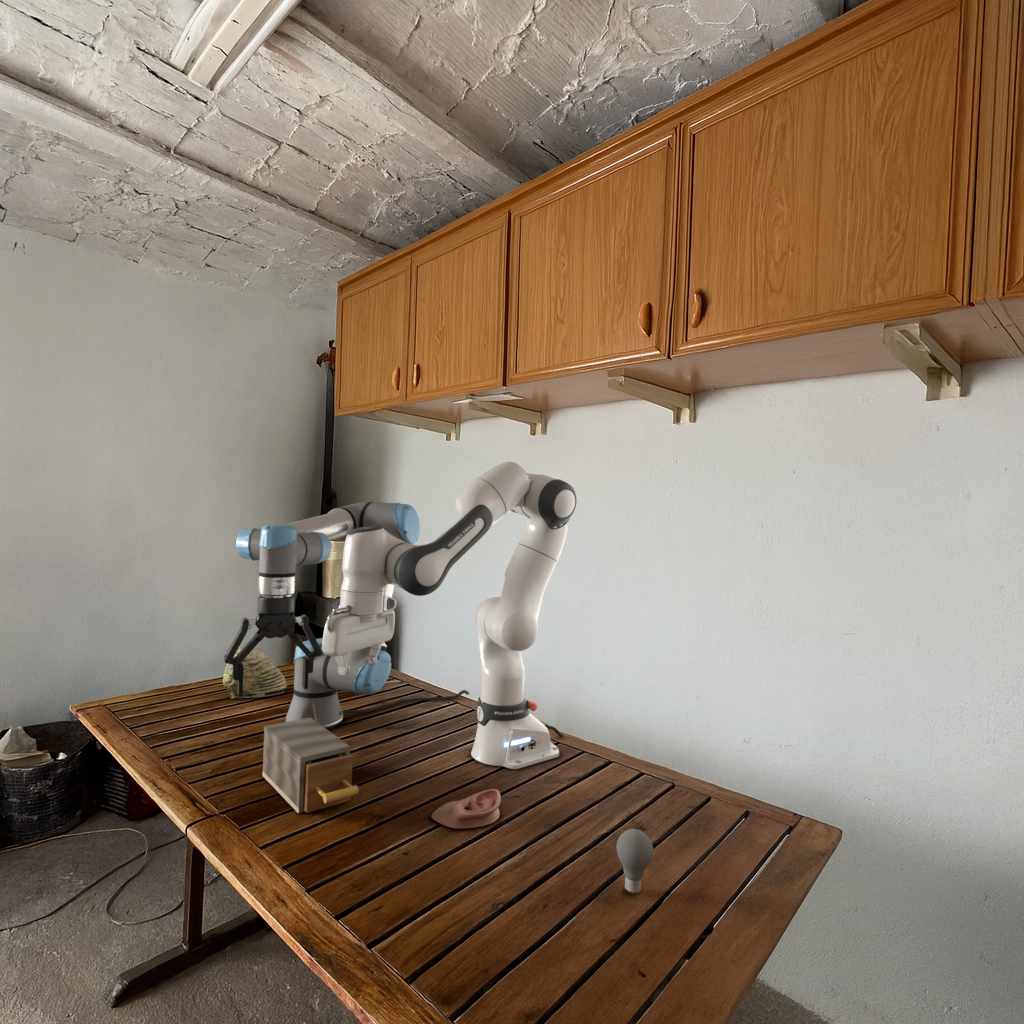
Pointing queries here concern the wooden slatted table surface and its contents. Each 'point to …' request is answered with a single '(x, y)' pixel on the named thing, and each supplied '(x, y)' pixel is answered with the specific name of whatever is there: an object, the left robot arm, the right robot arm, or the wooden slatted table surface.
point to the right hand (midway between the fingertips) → (358, 669)
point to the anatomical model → (470, 811)
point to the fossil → (255, 676)
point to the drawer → (328, 781)
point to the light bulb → (634, 857)
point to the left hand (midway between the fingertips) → (273, 691)
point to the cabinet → (296, 755)
